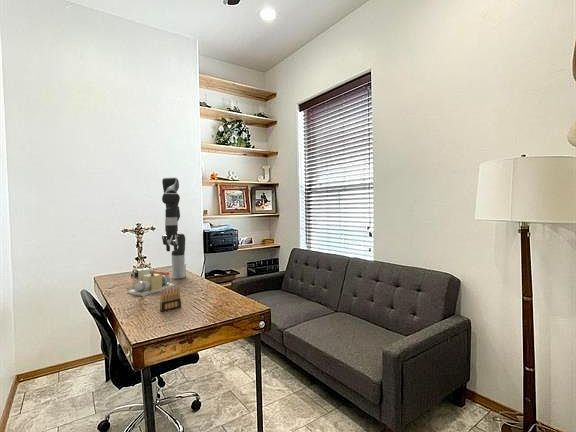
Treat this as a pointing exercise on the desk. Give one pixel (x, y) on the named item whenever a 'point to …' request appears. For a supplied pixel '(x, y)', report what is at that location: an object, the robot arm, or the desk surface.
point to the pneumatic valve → (141, 273)
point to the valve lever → (159, 272)
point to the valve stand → (151, 284)
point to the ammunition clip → (170, 299)
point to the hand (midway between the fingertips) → (171, 250)
